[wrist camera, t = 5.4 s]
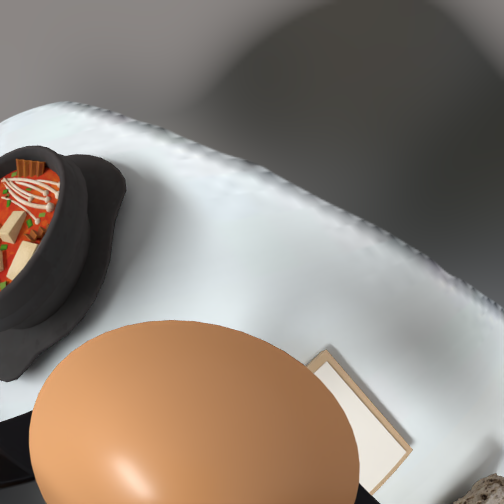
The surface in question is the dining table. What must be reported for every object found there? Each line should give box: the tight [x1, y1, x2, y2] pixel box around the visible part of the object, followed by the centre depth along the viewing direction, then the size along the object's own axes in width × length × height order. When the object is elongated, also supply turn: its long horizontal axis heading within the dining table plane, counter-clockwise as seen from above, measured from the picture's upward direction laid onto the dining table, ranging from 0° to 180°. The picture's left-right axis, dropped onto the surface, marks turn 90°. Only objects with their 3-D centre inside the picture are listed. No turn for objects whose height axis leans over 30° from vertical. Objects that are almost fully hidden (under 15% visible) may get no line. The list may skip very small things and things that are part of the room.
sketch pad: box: [306, 350, 413, 495], centre depth 18 cm, size 14×10×1 cm
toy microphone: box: [29, 320, 360, 504], centre depth 8 cm, size 4×4×13 cm
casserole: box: [0, 146, 126, 382], centre depth 18 cm, size 25×19×8 cm
